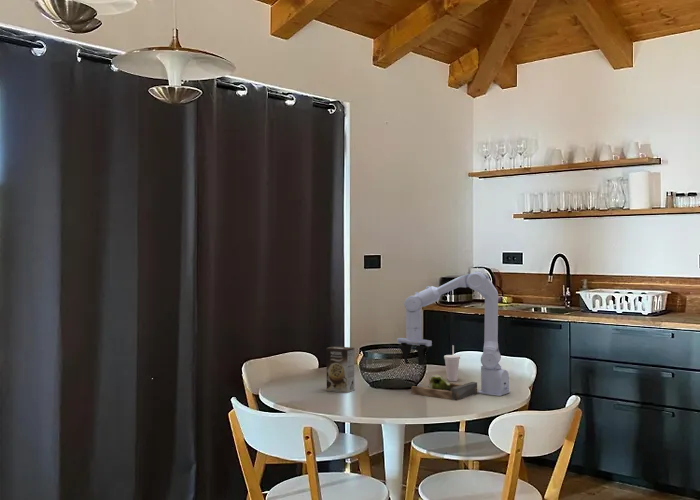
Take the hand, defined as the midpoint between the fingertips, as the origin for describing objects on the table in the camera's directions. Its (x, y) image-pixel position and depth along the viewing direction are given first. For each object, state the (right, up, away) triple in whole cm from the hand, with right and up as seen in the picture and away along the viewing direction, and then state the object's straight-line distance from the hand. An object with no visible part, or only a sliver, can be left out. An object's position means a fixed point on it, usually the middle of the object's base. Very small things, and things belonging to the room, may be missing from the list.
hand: (414, 364), depth 255 cm
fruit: (+8, -10, -6) cm, 14 cm away
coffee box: (-28, -10, 0) cm, 29 cm away
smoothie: (+17, -9, +16) cm, 25 cm away
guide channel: (+10, -9, -8) cm, 16 cm away
